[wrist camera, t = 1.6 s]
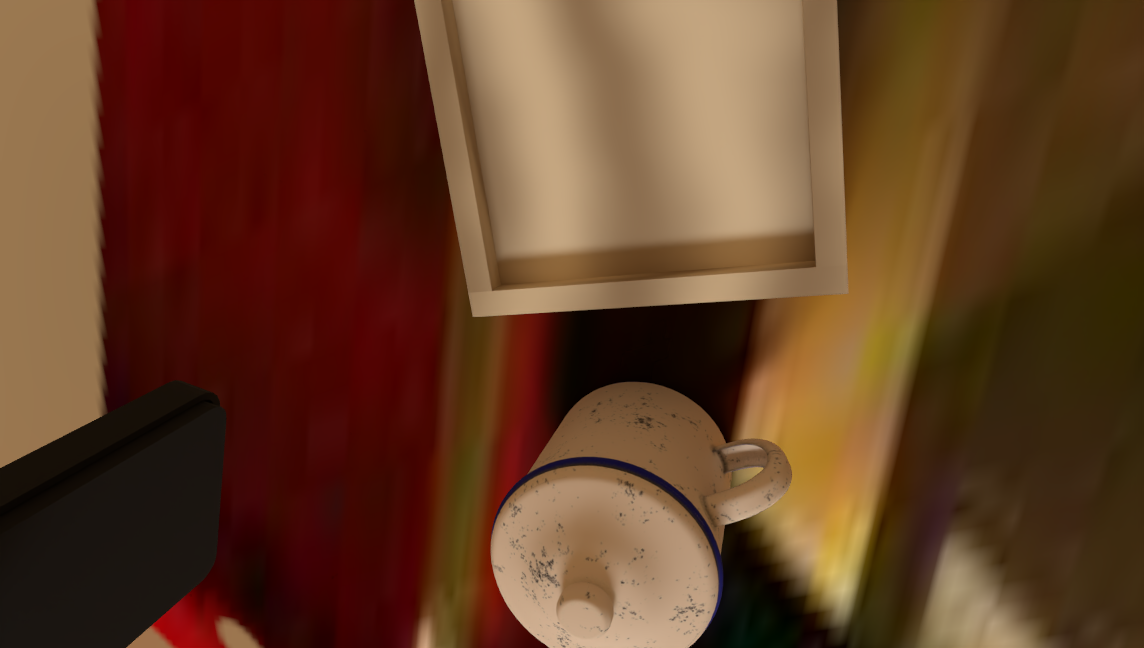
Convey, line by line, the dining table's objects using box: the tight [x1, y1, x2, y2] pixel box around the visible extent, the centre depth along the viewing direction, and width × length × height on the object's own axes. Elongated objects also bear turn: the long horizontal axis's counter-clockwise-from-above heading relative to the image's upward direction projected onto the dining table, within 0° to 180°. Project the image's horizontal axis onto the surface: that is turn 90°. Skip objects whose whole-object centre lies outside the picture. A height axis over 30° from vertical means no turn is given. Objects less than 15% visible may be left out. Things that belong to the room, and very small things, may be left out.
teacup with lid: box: [491, 382, 792, 648], centre depth 30 cm, size 12×9×12 cm
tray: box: [414, 0, 848, 317], centre depth 28 cm, size 14×14×6 cm
